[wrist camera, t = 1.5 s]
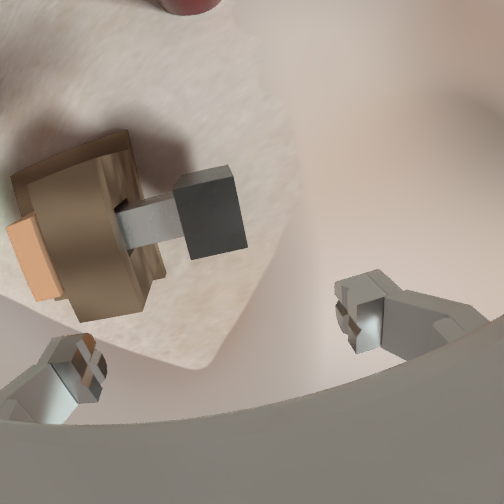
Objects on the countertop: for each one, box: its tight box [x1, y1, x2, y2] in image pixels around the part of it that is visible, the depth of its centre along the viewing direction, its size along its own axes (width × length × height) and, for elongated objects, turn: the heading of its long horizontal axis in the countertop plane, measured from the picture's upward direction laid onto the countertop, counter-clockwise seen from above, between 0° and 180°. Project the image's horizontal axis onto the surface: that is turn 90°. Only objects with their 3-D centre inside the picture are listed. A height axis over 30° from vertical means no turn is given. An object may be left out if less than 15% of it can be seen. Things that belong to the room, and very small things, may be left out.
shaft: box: [114, 165, 248, 260], centre depth 23 cm, size 5×20×7 cm, turn 100°
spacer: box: [6, 211, 65, 302], centre depth 23 cm, size 7×3×6 cm, turn 11°
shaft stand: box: [11, 130, 166, 323], centre depth 25 cm, size 16×15×11 cm
